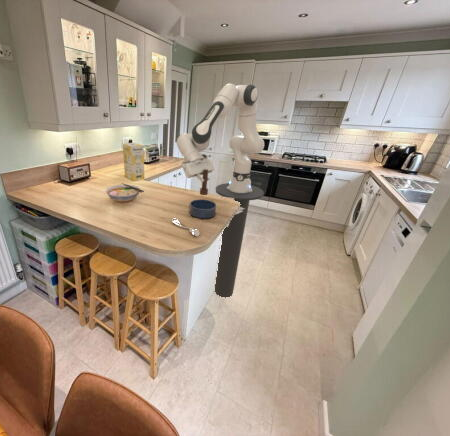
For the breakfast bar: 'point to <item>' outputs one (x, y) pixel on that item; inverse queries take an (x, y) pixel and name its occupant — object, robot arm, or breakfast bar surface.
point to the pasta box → (133, 161)
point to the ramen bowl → (123, 192)
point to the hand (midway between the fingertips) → (205, 180)
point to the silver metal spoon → (192, 230)
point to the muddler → (204, 183)
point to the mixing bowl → (202, 208)
